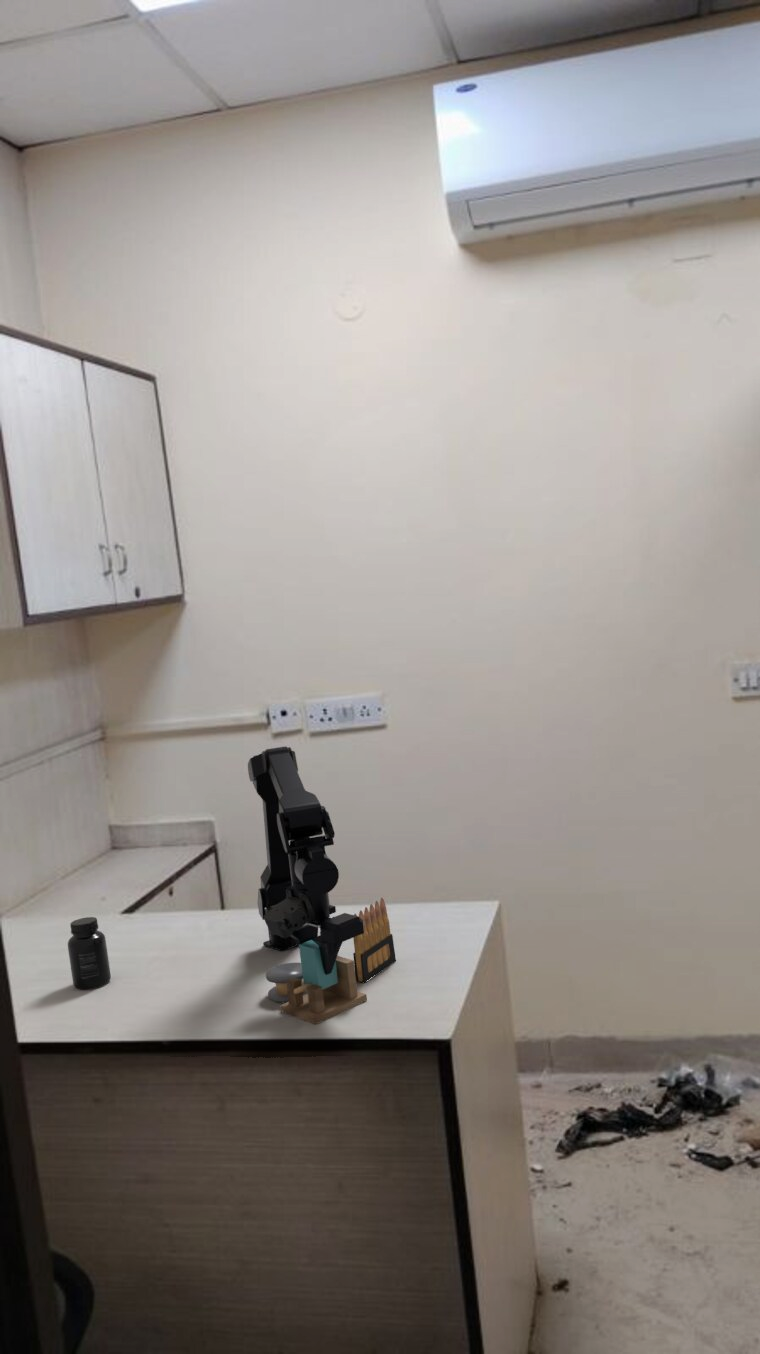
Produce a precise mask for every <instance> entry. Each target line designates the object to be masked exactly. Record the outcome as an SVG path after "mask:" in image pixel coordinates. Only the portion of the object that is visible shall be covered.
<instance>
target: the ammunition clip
mask: <svg viewBox="0 0 760 1354" xmlns="http://www.w3.org/2000/svg"><path fill="white" fill-rule="evenodd" d="M369 905H370V906H369V908H368V907H367V906H366V907H365V908H364V911H362V909H361V910H359V914H358V915H357V913H354V914H353V915H355V916H358V917H360V918H361V919H362V920H363V924H364V933H363V934H361V935H358V936H356V937H353V938H352V939H353V947H354V953H353V954H352V955H353V960H354V968H355V977H356V983H361V982H364V983H363V984H366V983H367V982H368V981H367V980H369V979H370V978H371V977H373V976H374V975H376V974H377V975H379V974H380V973H381V972H383V971H385V969H387V968H388V967H390V966H391V965H393V964H394V963H396V961H397V959H396V953H395V952H396V951H395V943H394V936H393V933H391V925H390V919H389V915H388V913H387V912H388V911H387V905H386V902H385V899H384V898H383V897H380V901H378V900H375V903H374V905H373V904H372V903H371V904H369ZM382 970H383V971H382ZM379 972H380V973H379ZM378 973H379V974H378ZM377 975H376V976H377ZM374 977H375V976H374ZM374 977H373V978H374ZM370 980H371V979H370ZM370 980H369V981H370ZM366 981H367V982H366ZM365 982H366V983H365Z"/></svg>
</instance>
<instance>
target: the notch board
mask: <svg viewBox="0 0 760 1354" xmlns="http://www.w3.org/2000/svg"><path fill="white" fill-rule="evenodd" d="M336 970H337V978H338V983H336V984H334V985H332V986H330V987H327V988H325V989H323V990H322V987H321V986H318V985H315V984H314V985H311V986H309V987H307V991H308V993H307V994H305V995H303V993H302V992H301V993H299V994H295V993H294V989H296V988H298V987H300V986H302V985H301V980H300V979H297V978H294V977H292V978H290V979H288V980H286V983H287V991H288V1000H289V1002H287V1003H281V1004H280V1005H279V1007H280V1012H282V1013H285V1014H287V1015H290V1016H292V1017H295V1018H298V1019H300V1020H303V1021H305V1022H309V1023H310V1024H314V1025H317V1024H319V1023H322V1022H324V1021H326V1020H328V1019H330V1018H332V1017H334V1016H337V1015H339V1014H341V1013H342V1012H345V1011H347V1010H349V1009H351V1008H354V1007H356V1006H357V1004H358V1005H360V1004H362V1003H364V1002H366V1001H367V1000H368V997H367V993H364V992H361V991H358V988H357V987H358V986H357V982H356V977H355V967H354V959H349V958H346V957H343V956H341V955H340V956H339V955H337V958H336ZM365 1000H366V1001H365ZM363 1001H364V1002H363ZM361 1002H362V1003H361ZM359 1003H360V1004H359ZM355 1005H356V1006H355Z"/></svg>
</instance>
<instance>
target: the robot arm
mask: <svg viewBox="0 0 760 1354" xmlns="http://www.w3.org/2000/svg"><path fill="white" fill-rule="evenodd" d="M298 771H299V767H298V762H297V756H296V752H295V751H294V750H293V749H292V748H291V746H289V747H288V746H286V745H285V746H279V747H278V746H277V747H273V748H272V747H271V748H266V749H265V750H264V751H261V753H260V754H257V755H253V757H250V758H249V760H248V762H247V772H248V777H249V778H248V779H249V781H250V782H251V783H252V785H253V787H254V790H255V791H256V793H257V795H258V796H259V797H260V799H261V800H262V810H263V821H264V822H263V823H264V833H265V834H264V835H265V846H266V858H267V860H266V861H267V865H266V867H265V868H264V870H263V872H262V873H261V875H260V887H259V888H258V890H257V891H258V892H257V908H258V914H259V916H260V918H261V919H262V921H264V922H265V924H266V926H267V930H268V932H267V933H268V938H269V939H267V941H264V942H263V946H265V947H268V948H271V949H275V950H277V951H281V952H283V951H287V950H289V949H292V948H294V947H296V946H297V947H298V949H299V944H302V943H304V942H307V941H309V940H312V941H314V942H315V943H316V944H318V945H319V949H320V954H321V959H322V965H323V969H324V972H325V974H326V975H328V974H330V973H331V972H332V969H333V967H334V964H335V961H336V958H337V956H339V952H340V949H341V946H342V944H343V942H346V941H348V940H350V939H353V938H354V937H356V936H358V935H361V934H363V933H364V924H363V920H362V919H361V918H360V917H359V915H357V916H355V915H354V914H350V913H346V912H344V913H341V914H338V915H336V916H333V917H331V916H330V915H332V914H335V913H337V909H336V905H332V904H330V895H329V893H330V892H332V890H334V888H336V886H337V884H338V881H339V876H340V873H339V872H340V871H339V869H338V867H337V865H336V864H335V862H334V861H332V859H331V858H330V857H329V856H328V855H327V852H326V847H330V846H333V845H335V842H334V838H335V830H334V827H333V823H332V820H331V816H330V815H329V812H328V811H327V810H326V807H325V806H324V805H321V802H320V801H319V799H318V797H317V795H316V794H314V793H312V792H309V791H308V790H306V789H305V787H304V784H303V782H302V780H301V777H300V774H299V772H298ZM323 833H324V835H323ZM299 951H300V949H299Z"/></svg>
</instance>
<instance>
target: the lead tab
mask: <svg viewBox="0 0 760 1354" xmlns="http://www.w3.org/2000/svg"><path fill="white" fill-rule="evenodd" d="M298 949H300V950H299V956H300V963H301V966H302V975H303V983H304V985H303V986H300V987H298V988H296V989H294V993H295V994H299V993H301V992H303V991H305V990H307V987H309V986H311V985H314V984H315V985H318V986H321V987H322V990H323V989H325V988H327V987H330V986H332V985H334V984H336V983H338V978H337V970H336V961H335V964H334V967H333V969H332V972H331V973H330V974H328V975H326V974H325V972H324V969H323V965H322V959H321V954H320V949H319V945H318V944H316V943H315V942H314V941H312V940H309V941H307V942H304V943H302V944H299V947H298Z"/></svg>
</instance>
